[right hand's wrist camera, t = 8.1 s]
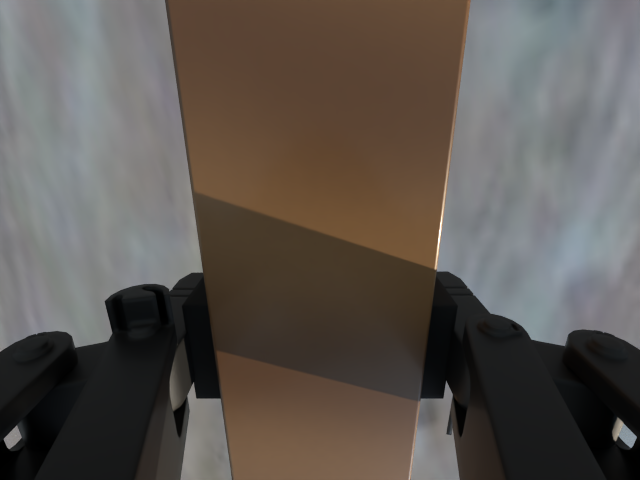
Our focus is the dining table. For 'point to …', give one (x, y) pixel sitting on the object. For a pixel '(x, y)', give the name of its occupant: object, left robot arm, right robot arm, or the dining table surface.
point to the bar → (319, 218)
